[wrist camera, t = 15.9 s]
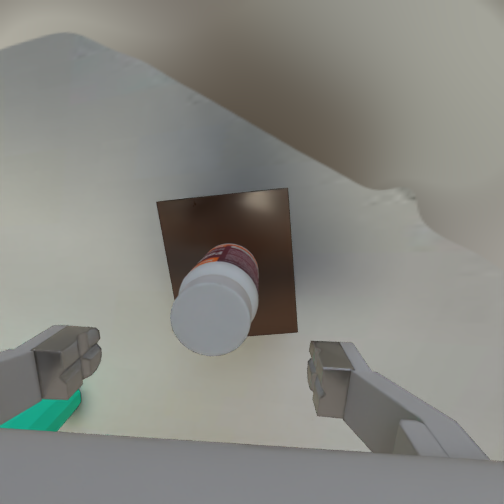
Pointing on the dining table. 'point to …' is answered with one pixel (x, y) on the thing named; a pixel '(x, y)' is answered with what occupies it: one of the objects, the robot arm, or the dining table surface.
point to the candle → (45, 414)
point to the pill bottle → (217, 301)
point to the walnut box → (240, 233)
